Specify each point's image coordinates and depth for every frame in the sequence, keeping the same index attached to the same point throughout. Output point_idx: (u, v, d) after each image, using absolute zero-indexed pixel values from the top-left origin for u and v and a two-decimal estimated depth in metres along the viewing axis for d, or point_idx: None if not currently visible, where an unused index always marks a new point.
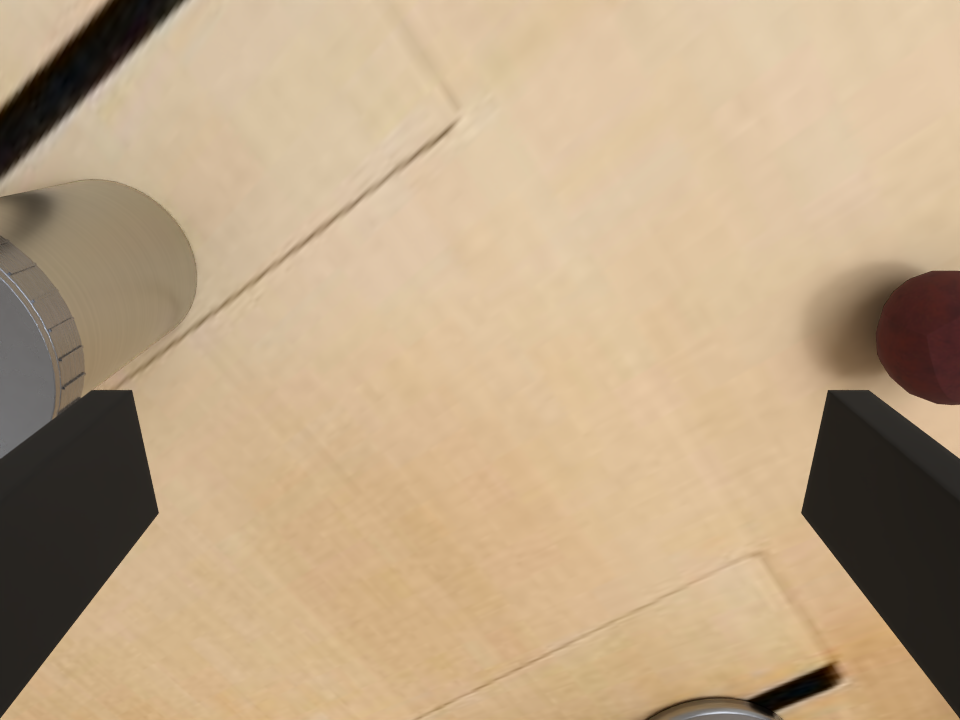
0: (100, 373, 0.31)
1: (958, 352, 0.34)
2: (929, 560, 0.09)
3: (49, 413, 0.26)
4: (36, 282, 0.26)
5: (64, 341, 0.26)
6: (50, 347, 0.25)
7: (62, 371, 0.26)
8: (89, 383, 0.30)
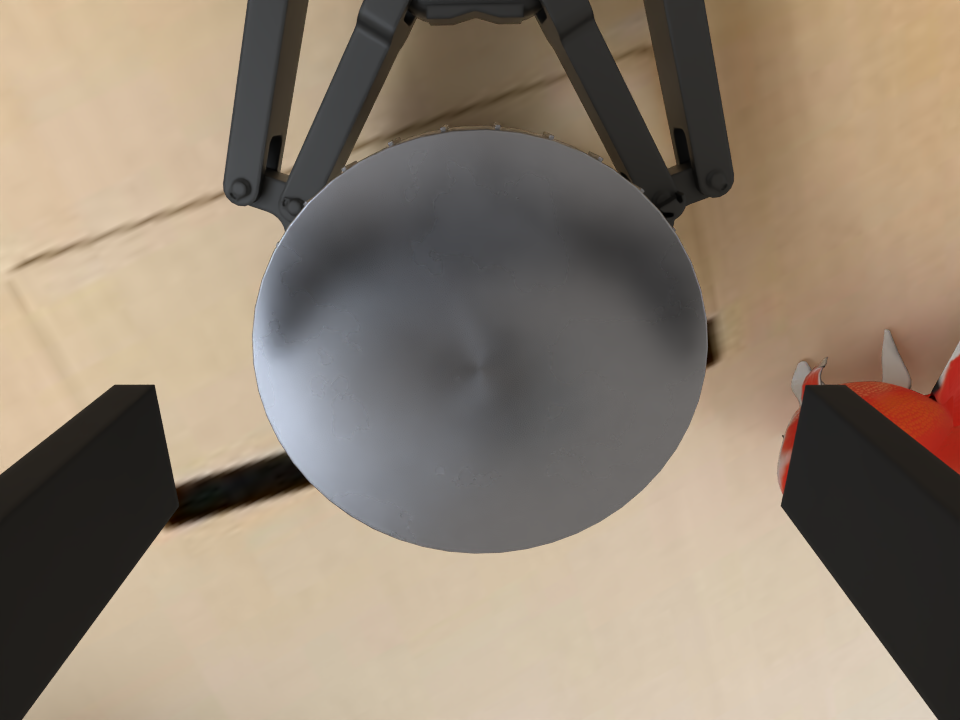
0: None
1: None
2: (898, 549, 0.10)
3: (301, 219, 0.15)
4: None
5: None
6: None
7: None
8: None
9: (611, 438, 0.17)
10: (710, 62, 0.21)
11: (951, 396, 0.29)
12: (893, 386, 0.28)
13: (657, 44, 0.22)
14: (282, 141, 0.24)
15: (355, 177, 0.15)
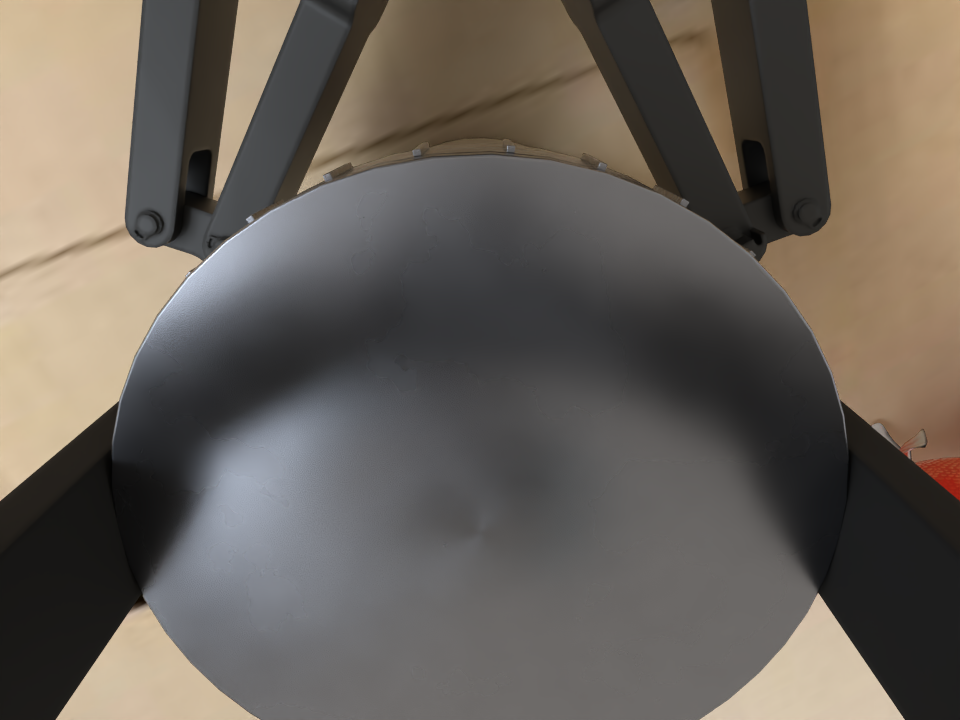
0: None
1: None
2: (855, 535, 0.10)
3: (178, 305, 0.09)
4: None
5: None
6: None
7: None
8: None
9: (685, 630, 0.11)
10: (806, 48, 0.15)
11: None
12: None
13: (725, 25, 0.16)
14: (212, 157, 0.18)
15: (265, 236, 0.09)
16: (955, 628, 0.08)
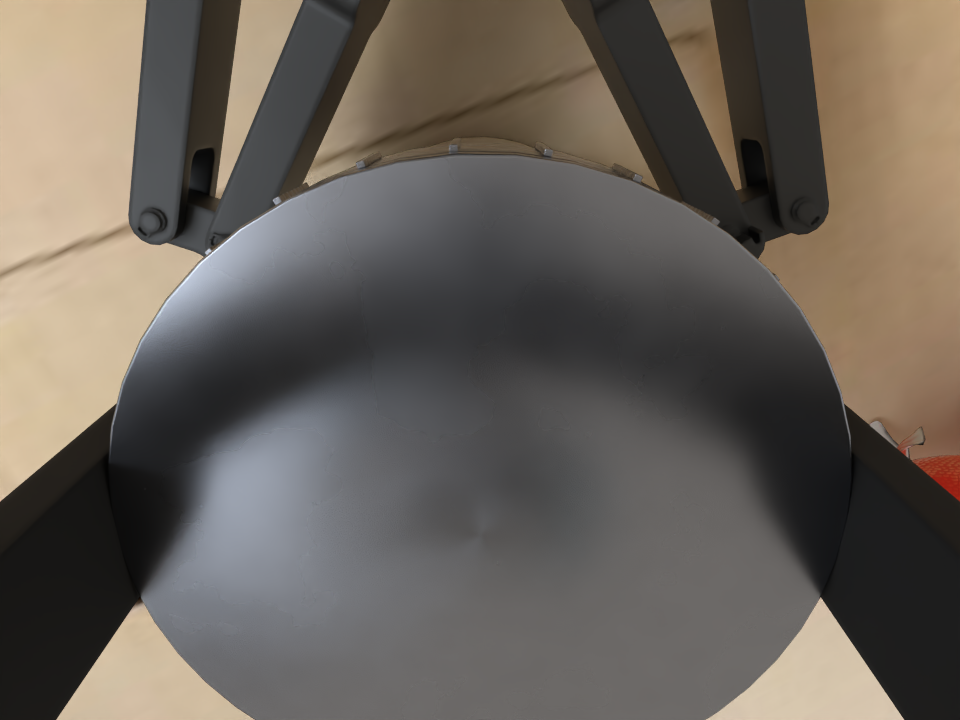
0: None
1: None
2: (855, 535, 0.10)
3: None
4: None
5: None
6: None
7: None
8: None
9: (606, 314, 0.09)
10: (804, 48, 0.15)
11: None
12: None
13: (724, 25, 0.16)
14: (215, 155, 0.18)
15: (224, 685, 0.11)
16: (954, 628, 0.08)
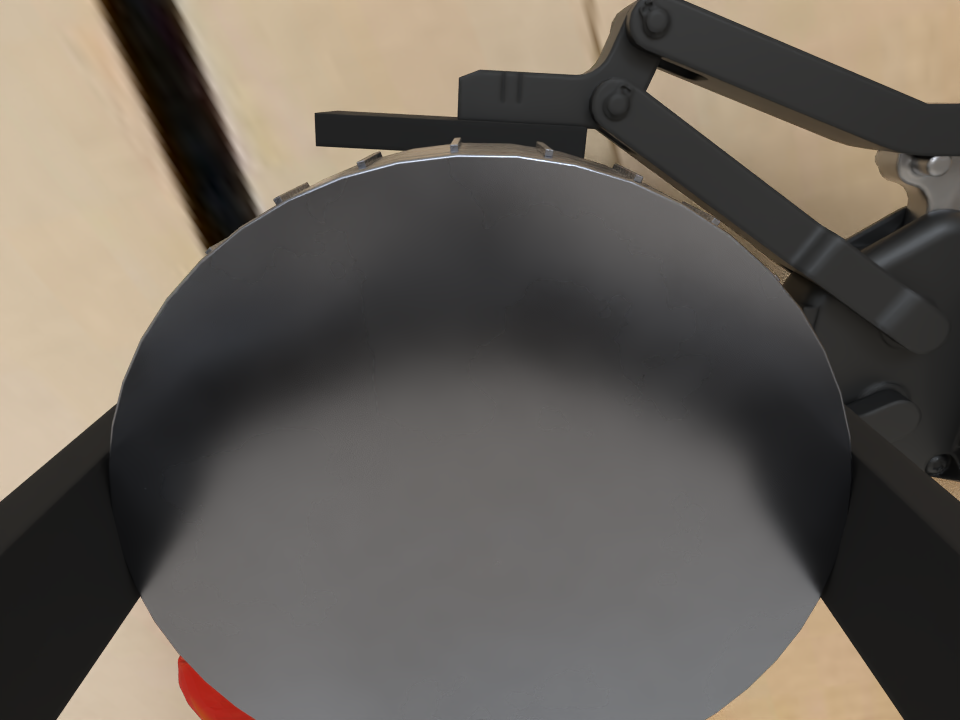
0: None
1: None
2: (854, 534, 0.10)
3: None
4: None
5: None
6: None
7: None
8: None
9: (606, 314, 0.09)
10: None
11: None
12: None
13: None
14: (683, 77, 0.17)
15: (224, 684, 0.11)
16: (954, 628, 0.08)
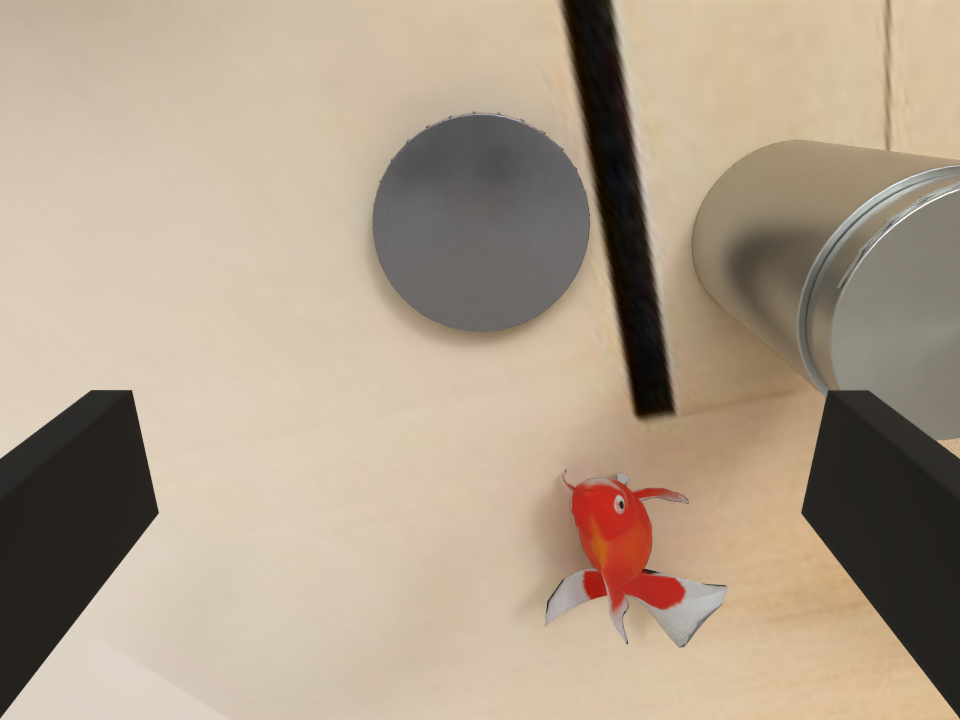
0: None
1: None
2: (929, 560, 0.09)
3: (419, 309, 0.36)
4: None
5: None
6: None
7: None
8: None
9: (515, 158, 0.33)
10: None
11: (631, 580, 0.40)
12: None
13: None
14: None
15: (399, 287, 0.36)
16: None
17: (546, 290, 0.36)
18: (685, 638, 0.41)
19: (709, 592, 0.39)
